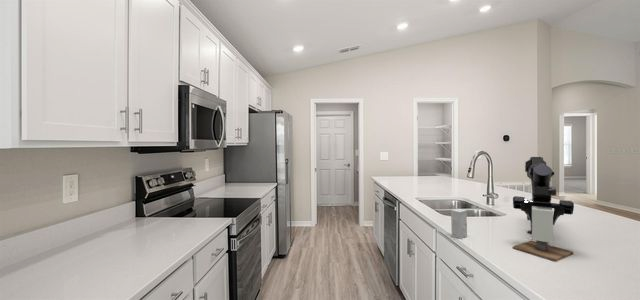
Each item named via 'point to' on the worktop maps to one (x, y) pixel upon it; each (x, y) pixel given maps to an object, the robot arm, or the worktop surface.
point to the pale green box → (542, 224)
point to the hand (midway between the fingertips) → (542, 223)
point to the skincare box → (459, 223)
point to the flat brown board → (543, 250)
